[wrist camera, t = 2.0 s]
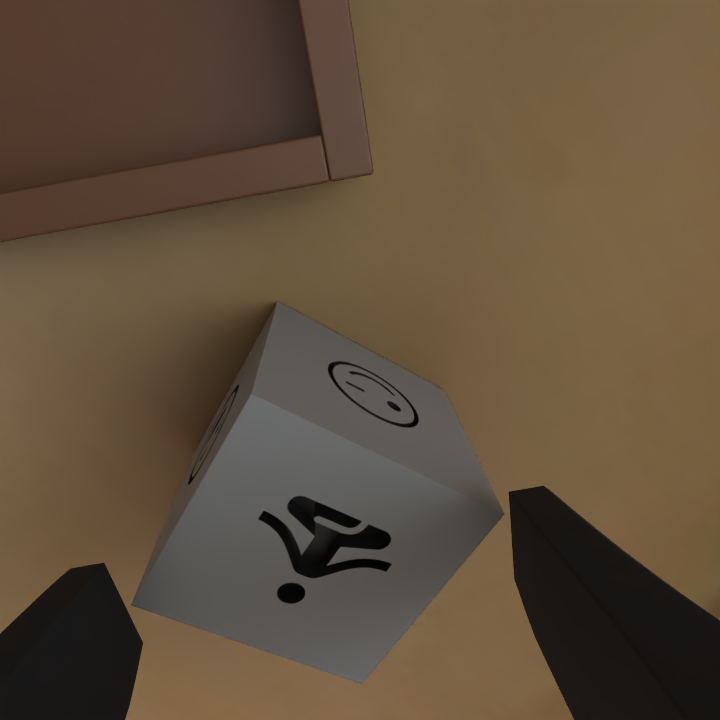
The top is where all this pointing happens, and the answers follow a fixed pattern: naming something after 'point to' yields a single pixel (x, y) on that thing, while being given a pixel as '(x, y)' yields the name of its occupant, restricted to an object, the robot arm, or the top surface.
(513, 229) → the top surface
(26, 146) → the tray
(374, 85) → the top surface
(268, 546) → the dice cube
